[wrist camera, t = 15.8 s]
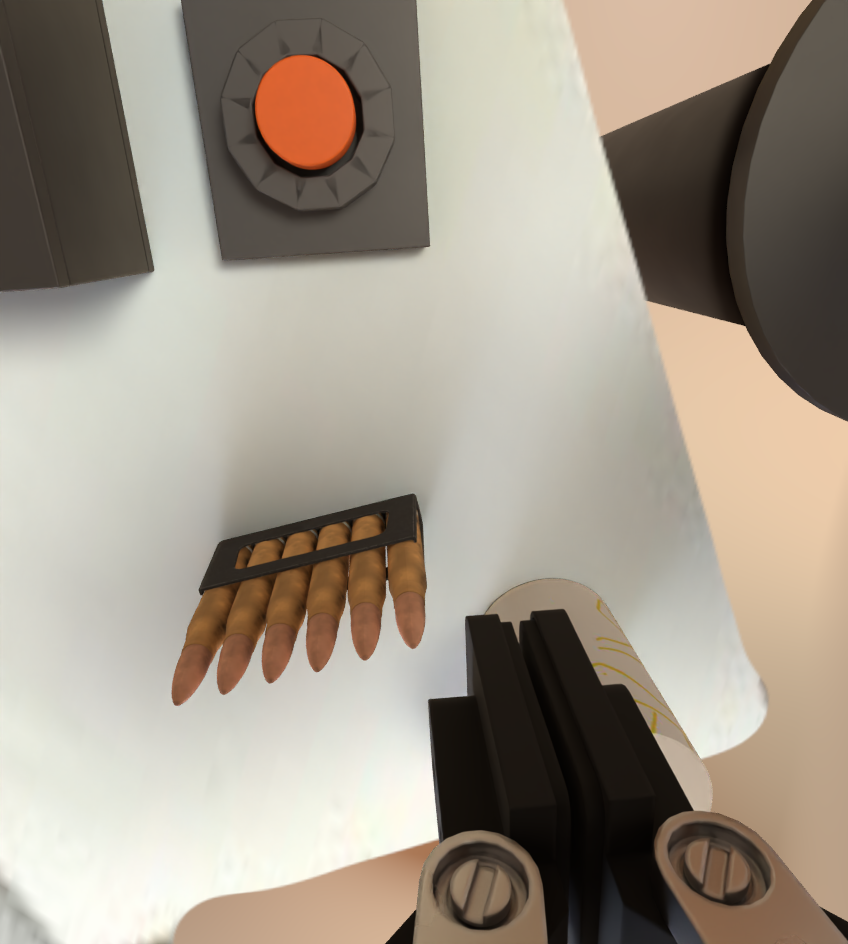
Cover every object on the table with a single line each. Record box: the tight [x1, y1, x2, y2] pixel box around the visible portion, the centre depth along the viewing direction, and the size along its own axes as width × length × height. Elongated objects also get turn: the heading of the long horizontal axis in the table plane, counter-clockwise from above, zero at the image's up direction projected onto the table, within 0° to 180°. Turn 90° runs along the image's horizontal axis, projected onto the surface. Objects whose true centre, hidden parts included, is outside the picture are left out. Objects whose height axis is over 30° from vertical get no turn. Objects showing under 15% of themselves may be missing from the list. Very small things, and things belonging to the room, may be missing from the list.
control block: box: [181, 0, 430, 261], centre depth 27 cm, size 9×10×4 cm
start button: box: [255, 55, 356, 170], centre depth 25 cm, size 4×4×2 cm
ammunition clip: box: [172, 494, 427, 706], centre depth 29 cm, size 11×2×12 cm, turn 103°
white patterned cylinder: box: [485, 579, 713, 812], centre depth 33 cm, size 8×8×12 cm
